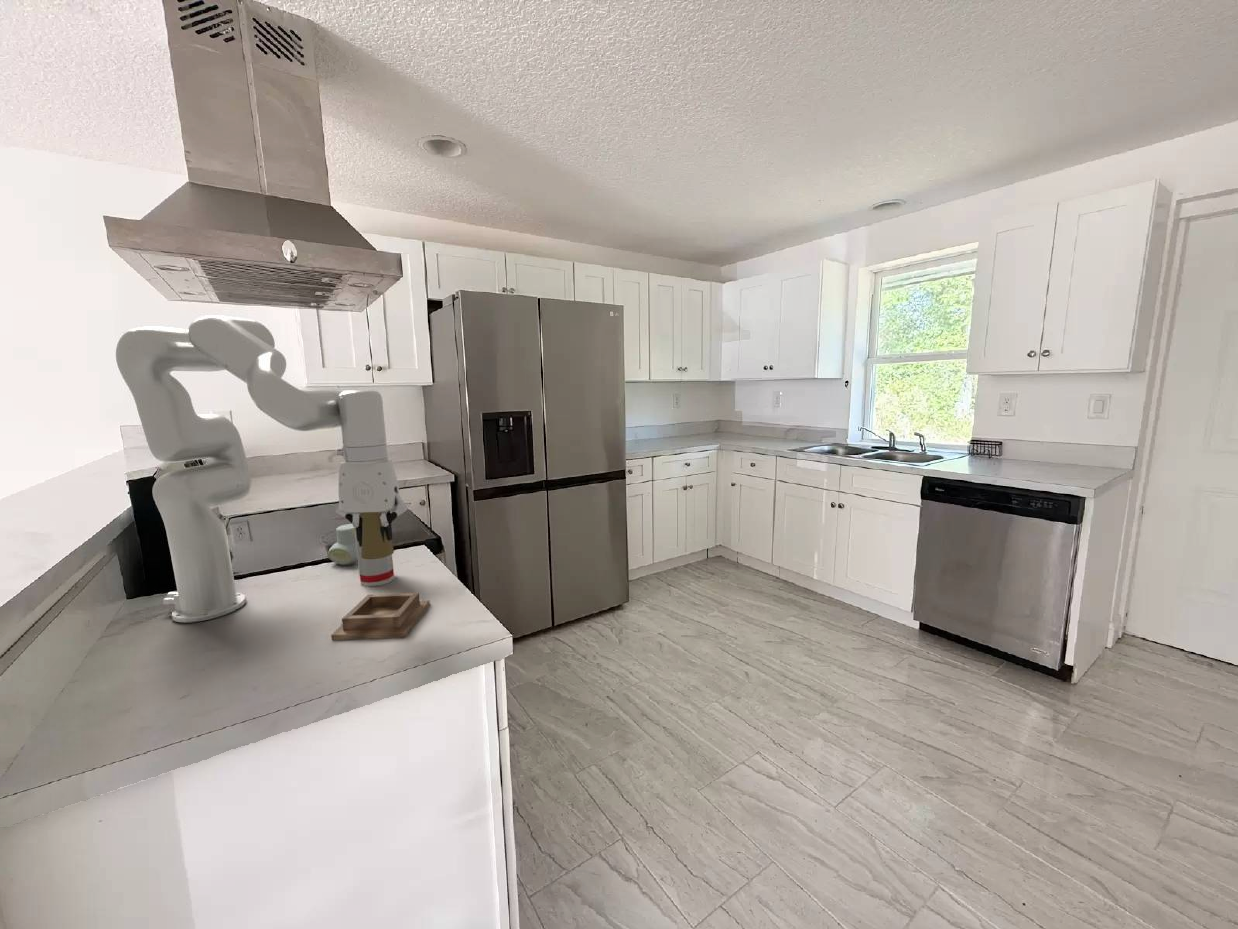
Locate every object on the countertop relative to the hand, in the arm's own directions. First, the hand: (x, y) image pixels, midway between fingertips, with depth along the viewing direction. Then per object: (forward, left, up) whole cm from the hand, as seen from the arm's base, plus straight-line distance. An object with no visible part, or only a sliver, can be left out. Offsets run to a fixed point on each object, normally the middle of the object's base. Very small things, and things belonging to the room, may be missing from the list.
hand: (375, 543), depth 99 cm
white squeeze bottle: (-11, +22, -17) cm, 30 cm away
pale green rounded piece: (-24, +36, -17) cm, 46 cm away
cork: (0, 0, -2) cm, 2 cm away
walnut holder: (0, 0, -17) cm, 17 cm away
